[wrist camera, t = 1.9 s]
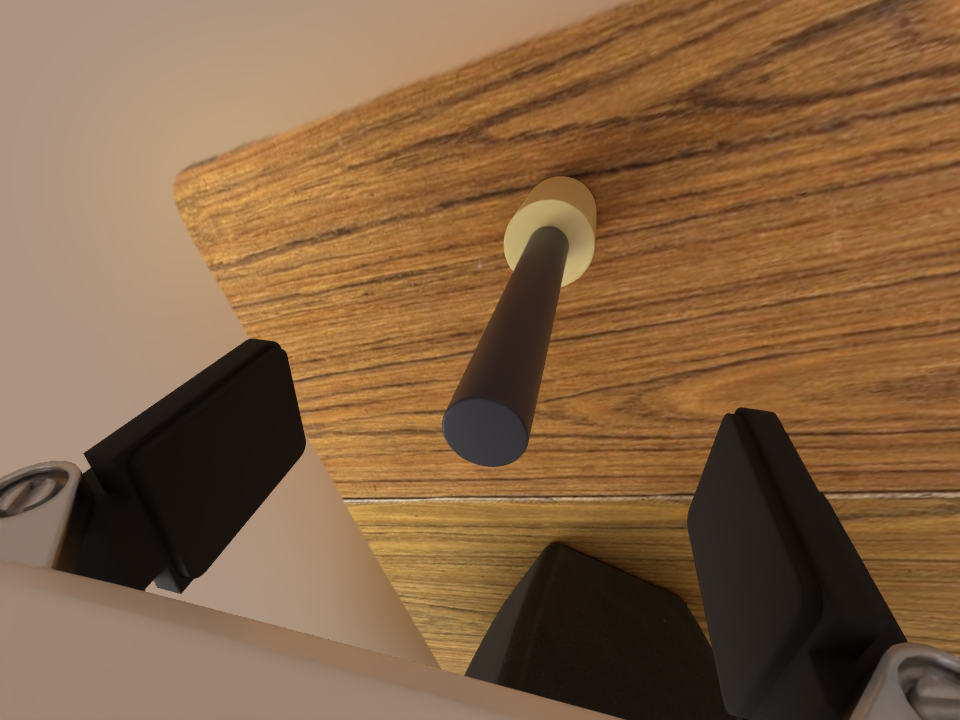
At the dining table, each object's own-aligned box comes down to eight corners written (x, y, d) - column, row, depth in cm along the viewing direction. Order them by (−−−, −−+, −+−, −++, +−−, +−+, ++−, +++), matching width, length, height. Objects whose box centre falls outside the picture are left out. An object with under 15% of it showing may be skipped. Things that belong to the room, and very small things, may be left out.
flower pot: (458, 610, 47) (397, 832, 33) (526, 500, 37) (480, 755, 23) (627, 683, 47) (638, 938, 33) (744, 593, 37) (833, 909, 22)
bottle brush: (511, 197, 25) (355, 384, 9) (579, 161, 24) (531, 315, 8) (541, 261, 27) (450, 518, 11) (607, 232, 25) (616, 485, 9)
